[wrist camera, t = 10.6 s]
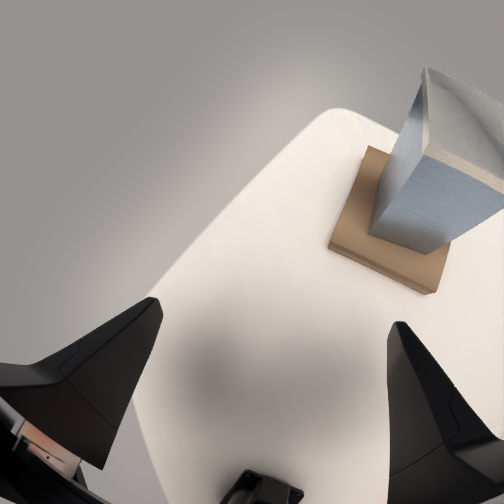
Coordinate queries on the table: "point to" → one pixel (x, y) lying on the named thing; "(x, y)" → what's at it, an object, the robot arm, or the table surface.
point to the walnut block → (377, 249)
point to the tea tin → (442, 166)
